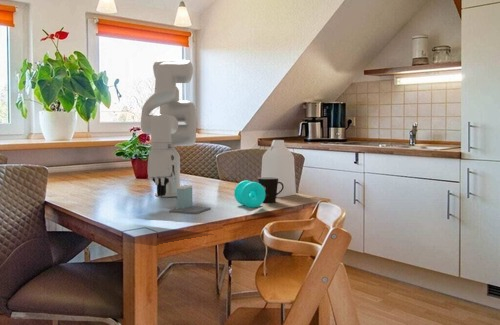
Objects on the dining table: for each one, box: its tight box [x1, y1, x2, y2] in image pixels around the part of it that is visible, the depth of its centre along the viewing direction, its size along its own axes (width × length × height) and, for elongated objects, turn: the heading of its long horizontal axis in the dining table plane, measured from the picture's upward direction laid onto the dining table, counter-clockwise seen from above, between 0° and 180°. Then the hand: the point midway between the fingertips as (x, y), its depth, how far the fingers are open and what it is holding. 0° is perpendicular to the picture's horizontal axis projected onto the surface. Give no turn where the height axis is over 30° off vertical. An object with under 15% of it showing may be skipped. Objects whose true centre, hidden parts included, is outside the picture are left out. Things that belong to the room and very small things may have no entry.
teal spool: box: [233, 179, 265, 209], centre depth 186 cm, size 10×10×10 cm
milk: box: [260, 139, 297, 198], centre depth 219 cm, size 12×12×26 cm
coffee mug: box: [257, 177, 284, 204], centre depth 198 cm, size 12×9×10 cm
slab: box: [176, 184, 193, 209], centre depth 179 cm, size 7×3×8 cm, turn 162°
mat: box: [168, 206, 211, 215], centre depth 175 cm, size 12×11×1 cm
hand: (161, 195), depth 179 cm, fingers closed
